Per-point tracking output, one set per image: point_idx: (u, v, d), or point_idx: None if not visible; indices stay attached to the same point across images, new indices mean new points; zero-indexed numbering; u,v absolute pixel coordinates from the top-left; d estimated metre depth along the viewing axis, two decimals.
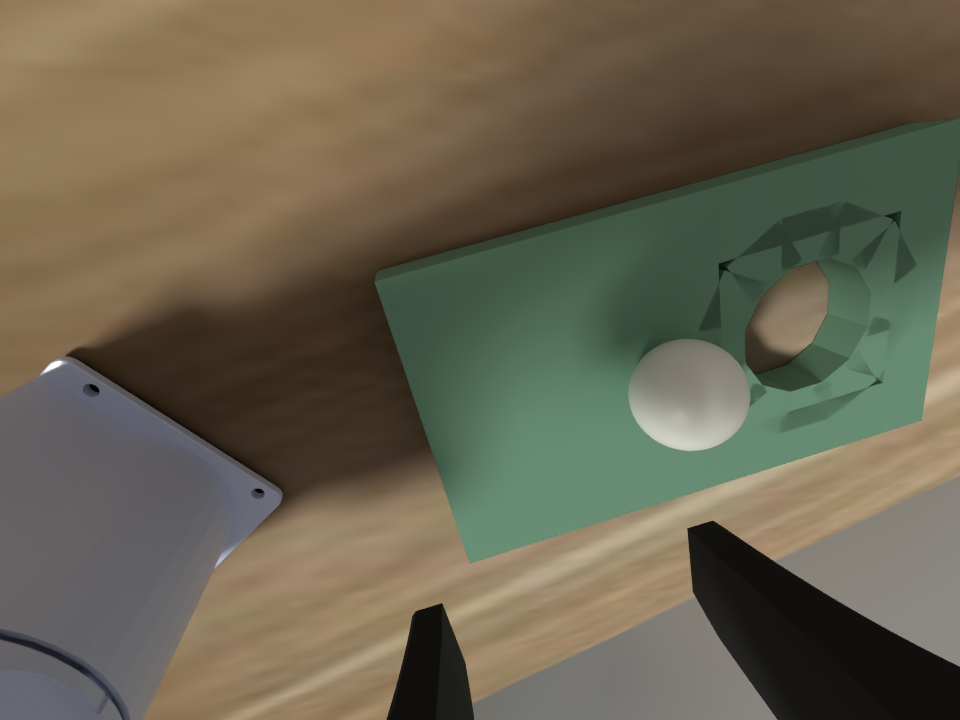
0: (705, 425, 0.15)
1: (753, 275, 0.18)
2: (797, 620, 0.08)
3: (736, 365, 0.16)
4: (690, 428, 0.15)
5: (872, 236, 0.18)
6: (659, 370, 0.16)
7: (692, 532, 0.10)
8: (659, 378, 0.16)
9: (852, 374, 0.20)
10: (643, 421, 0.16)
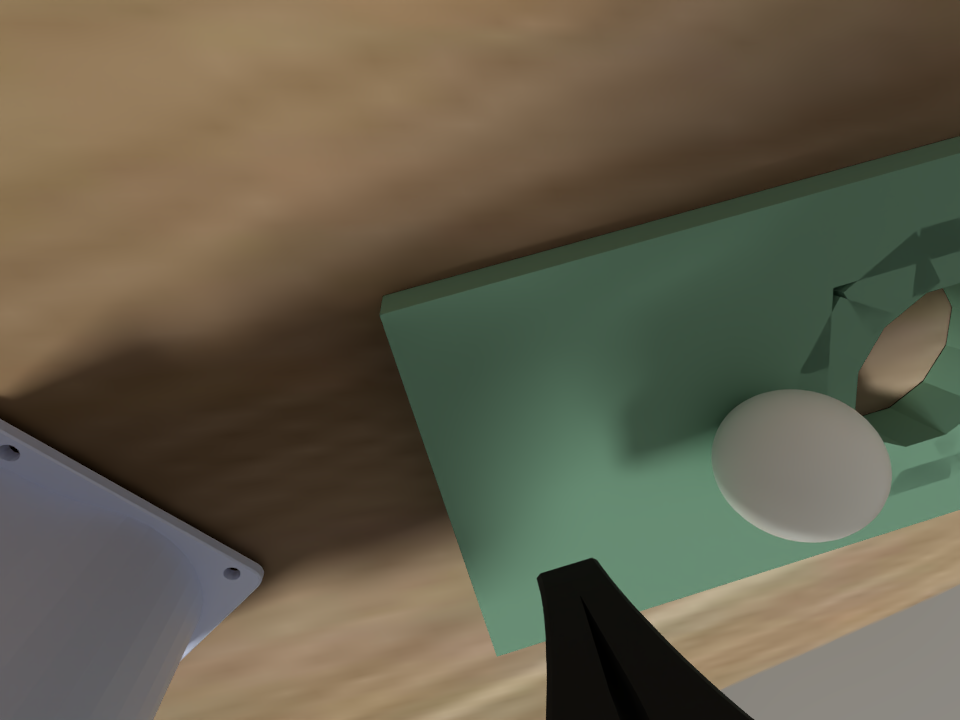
0: (836, 517, 0.11)
1: (875, 302, 0.14)
2: (635, 671, 0.08)
3: (874, 431, 0.11)
4: (814, 520, 0.11)
5: None
6: (766, 437, 0.12)
7: (569, 569, 0.10)
8: (767, 448, 0.12)
9: None
10: (739, 502, 0.12)
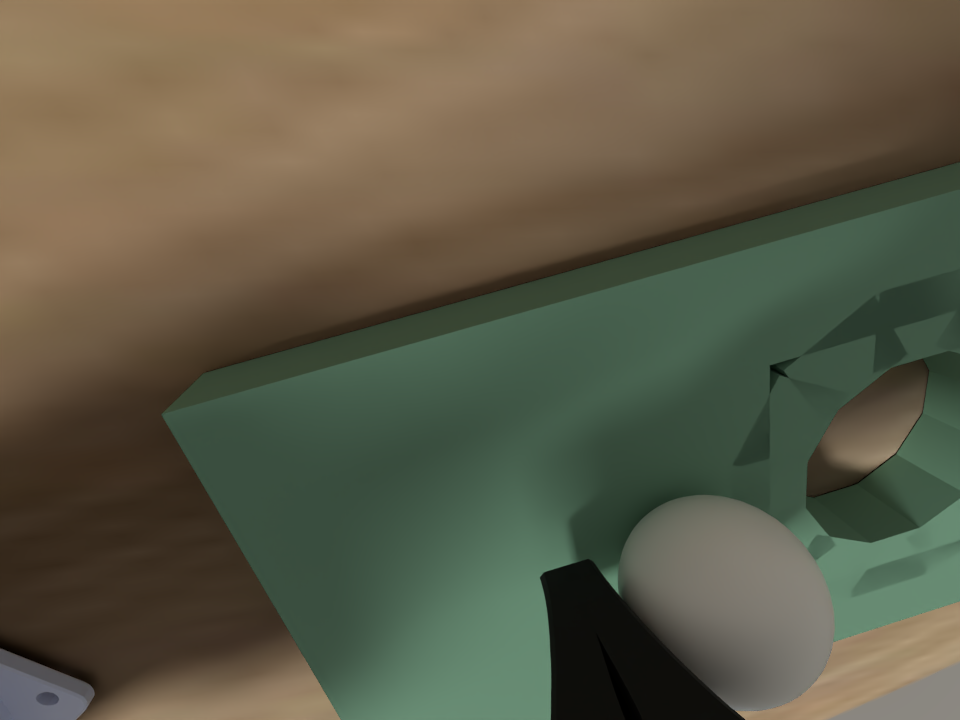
0: (758, 694, 0.08)
1: (825, 381, 0.11)
2: (629, 673, 0.08)
3: (811, 569, 0.09)
4: (729, 694, 0.08)
5: None
6: (671, 575, 0.09)
7: (564, 570, 0.10)
8: (671, 592, 0.09)
9: None
10: None
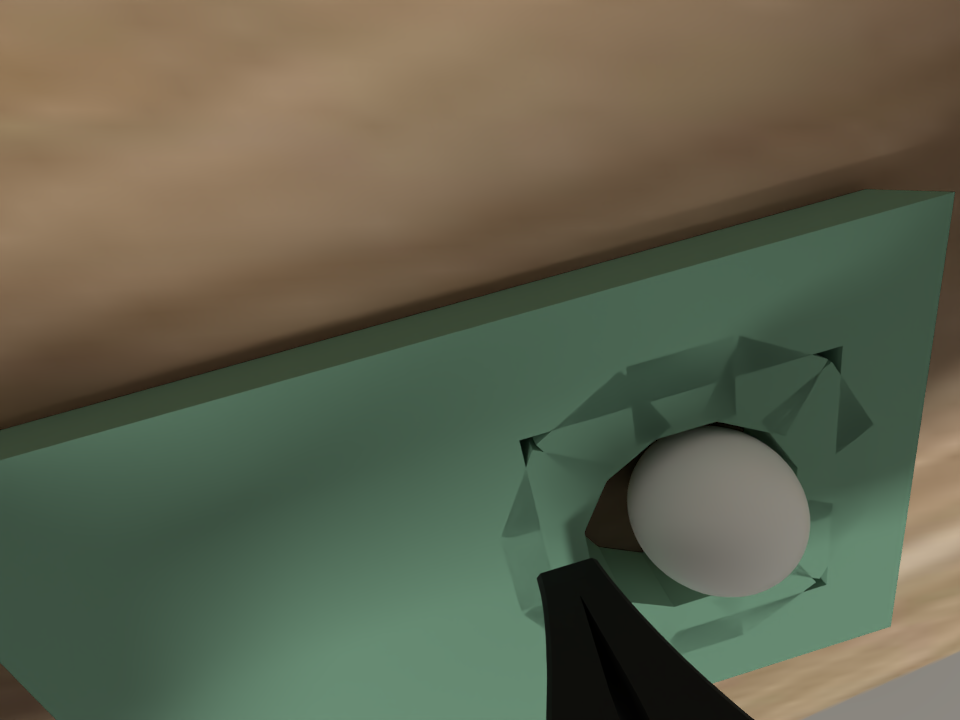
0: None
1: (585, 453, 0.11)
2: (635, 671, 0.08)
3: (687, 498, 0.10)
4: None
5: (793, 386, 0.11)
6: None
7: (568, 569, 0.10)
8: None
9: None
10: None
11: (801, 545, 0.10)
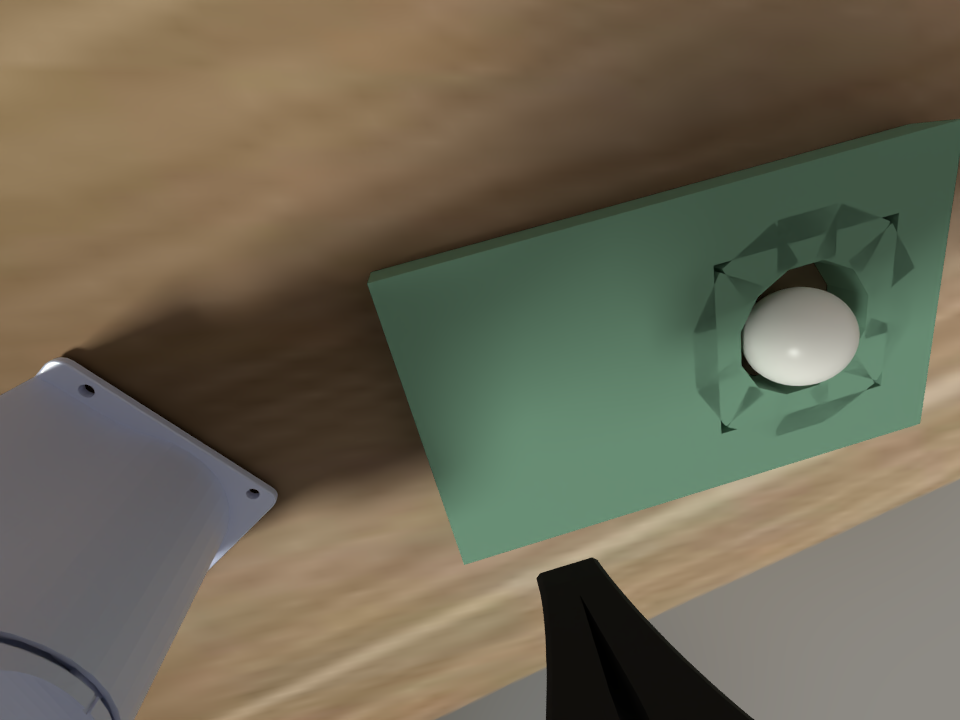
0: None
1: (748, 277, 0.18)
2: (635, 671, 0.08)
3: (776, 323, 0.18)
4: None
5: (869, 238, 0.18)
6: None
7: (569, 569, 0.10)
8: None
9: (849, 377, 0.20)
10: None
11: (839, 361, 0.17)
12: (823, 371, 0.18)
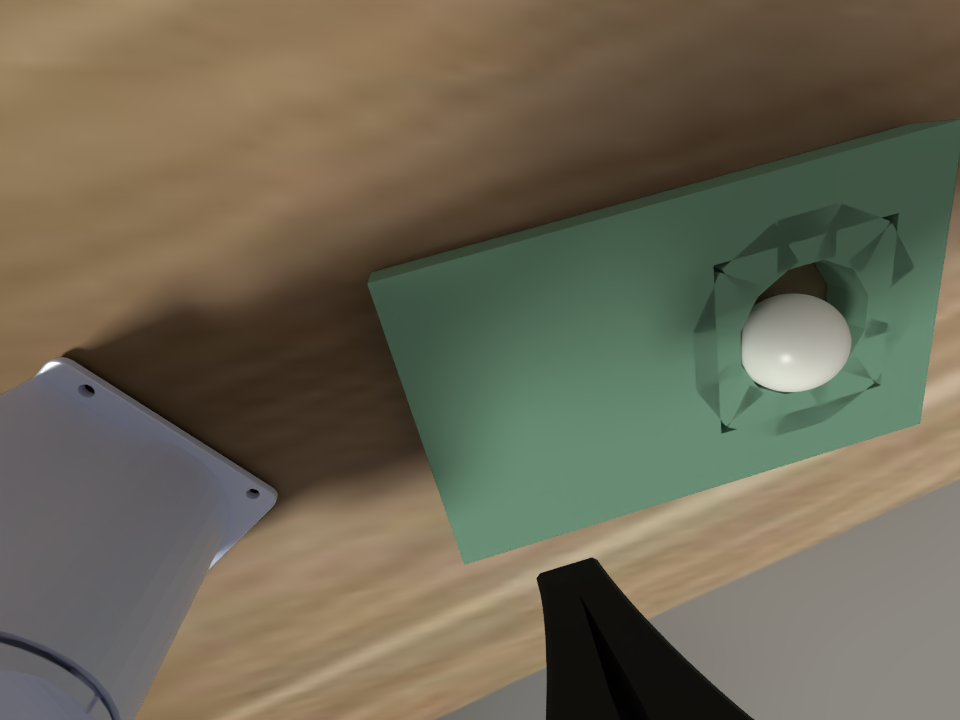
0: None
1: (748, 277, 0.18)
2: (635, 671, 0.08)
3: (763, 331, 0.18)
4: None
5: (869, 238, 0.18)
6: None
7: (569, 569, 0.10)
8: None
9: (849, 377, 0.20)
10: None
11: (822, 373, 0.18)
12: (804, 382, 0.18)
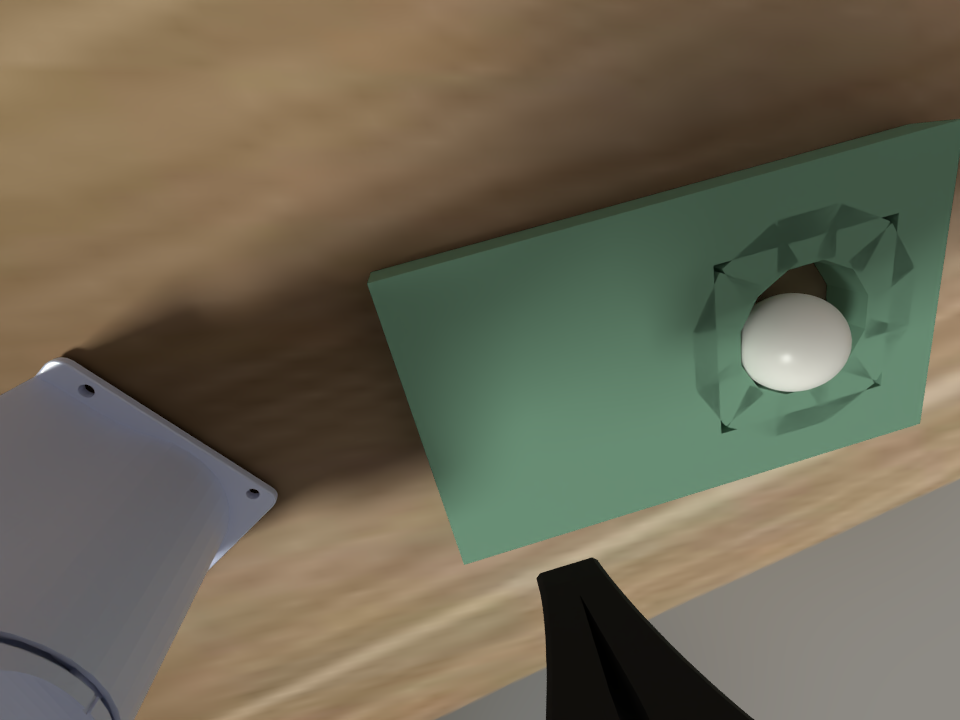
0: None
1: (748, 277, 0.18)
2: (635, 671, 0.08)
3: (764, 330, 0.18)
4: None
5: (869, 238, 0.18)
6: (785, 294, 0.19)
7: (569, 569, 0.10)
8: None
9: (849, 377, 0.20)
10: None
11: (823, 373, 0.18)
12: (806, 381, 0.18)
